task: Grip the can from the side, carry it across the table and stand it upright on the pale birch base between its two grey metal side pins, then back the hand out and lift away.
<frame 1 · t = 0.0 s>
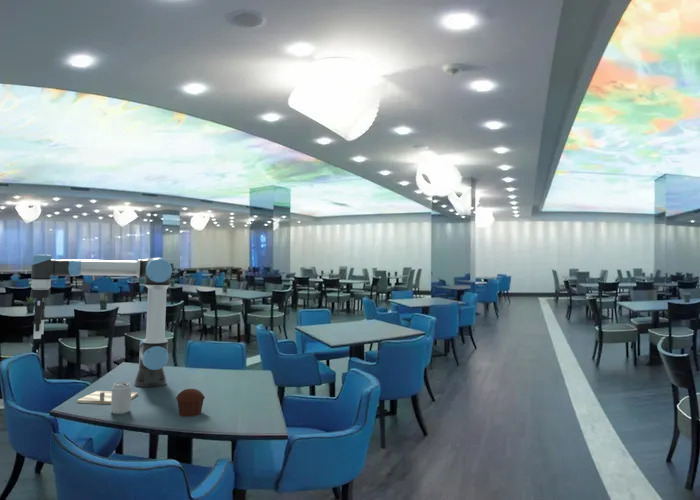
hand: (38, 336, 229), 28 cm above the table, tool pointing down, fingers open, 13 cm apart
can: (120, 412, 214), on the table
muffin: (189, 414, 215), on the table
pin base: (108, 398, 233), on the table
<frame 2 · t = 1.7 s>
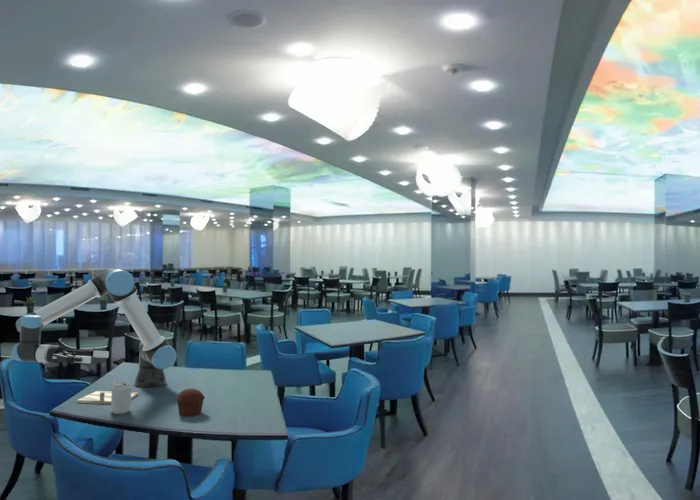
hand: (99, 357, 215), 22 cm above the table, tool horizontal, fingers open, 13 cm apart
nothing on the table moved.
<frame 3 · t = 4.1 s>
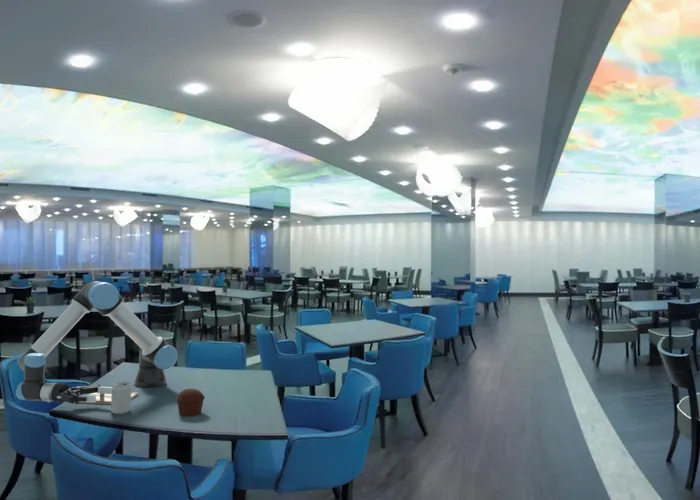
hand: (104, 394, 214), 7 cm above the table, tool horizontal, fingers open, 13 cm apart
nothing on the table moved.
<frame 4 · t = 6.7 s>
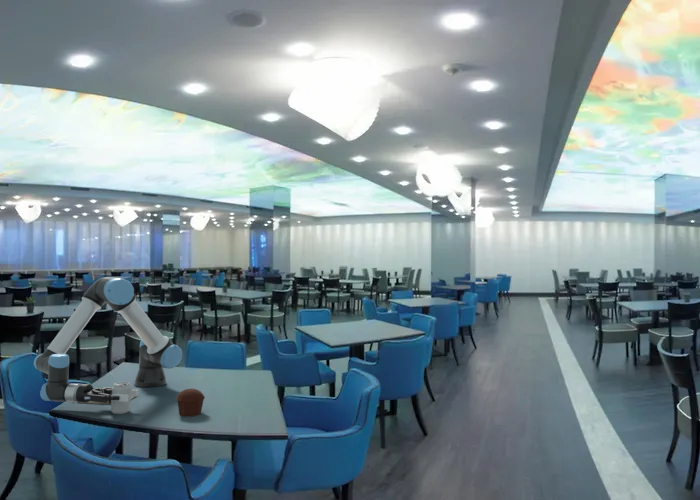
hand: (132, 395, 214), 7 cm above the table, tool horizontal, fingers closed on can, 7 cm apart
can: (120, 412, 214), on the table, touching gripper
everything else where it was.
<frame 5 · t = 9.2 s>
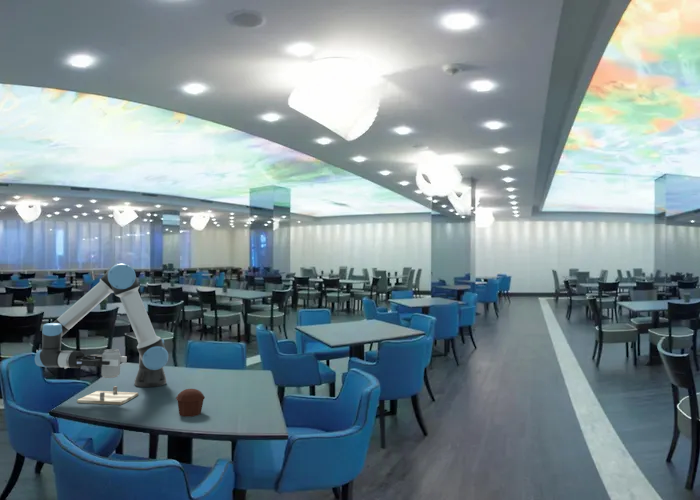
hand: (121, 361, 230), 18 cm above the table, tool horizontal, fingers closed on can, 7 cm apart
can: (110, 377, 230), point 11 cm above the table, touching gripper
everything else where it was.
when the fingers open (10 cm above the table, at t = 11.9 s): can drops 2 cm, resting on pin base.
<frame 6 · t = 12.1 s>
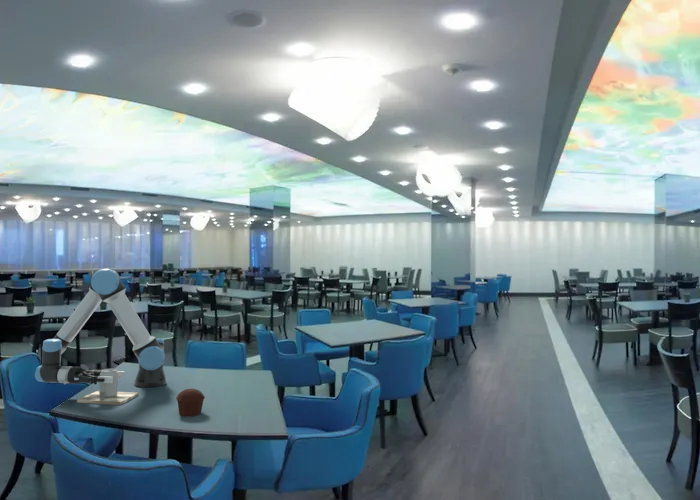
hand: (118, 377, 233), 10 cm above the table, tool horizontal, fingers open, 10 cm apart
can: (108, 396, 233), point 1 cm above the table, touching pin base
everything else where it was.
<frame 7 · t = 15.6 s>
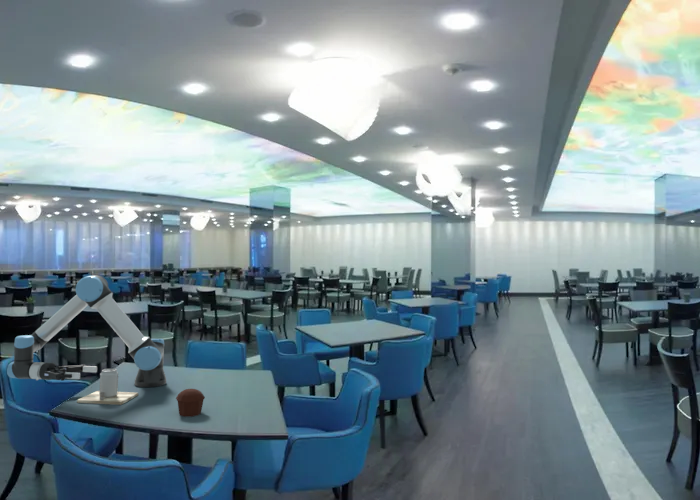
hand: (88, 372, 234), 11 cm above the table, tool horizontal, fingers open, 13 cm apart
nothing on the table moved.
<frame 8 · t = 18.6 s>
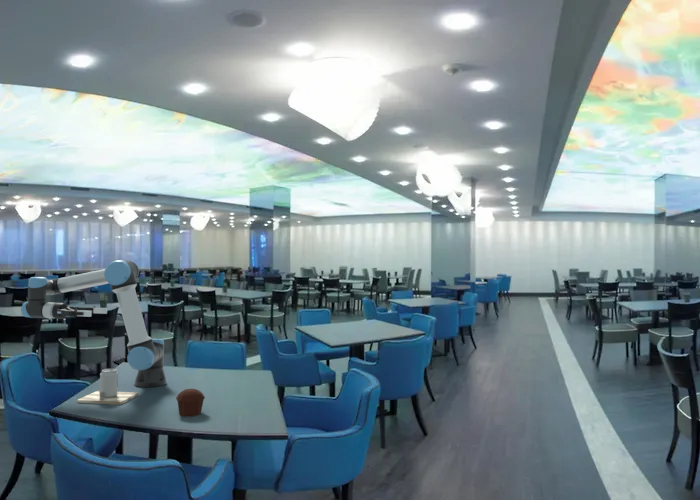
hand: (99, 312, 243), 38 cm above the table, tool horizontal, fingers open, 13 cm apart
nothing on the table moved.
at the end: can 0.2 cm off-centre on the pin base, point 1.0 cm above the pin base's base; can tilted 0°; the gripper is holding nothing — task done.
